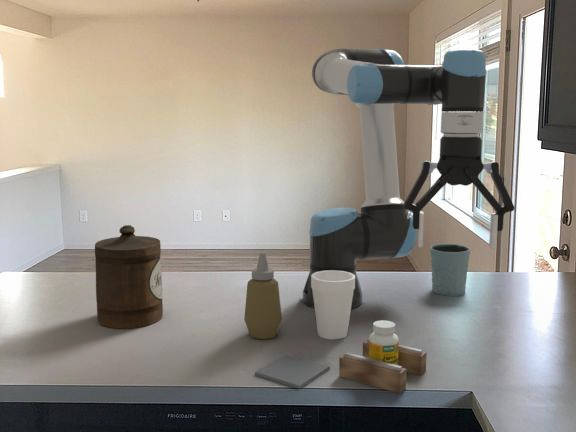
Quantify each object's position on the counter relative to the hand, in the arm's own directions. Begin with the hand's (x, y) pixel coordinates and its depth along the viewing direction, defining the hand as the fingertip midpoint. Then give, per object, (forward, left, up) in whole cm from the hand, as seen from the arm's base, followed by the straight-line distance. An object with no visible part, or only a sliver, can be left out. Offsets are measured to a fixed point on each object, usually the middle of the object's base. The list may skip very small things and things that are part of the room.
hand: (456, 246), depth 118 cm
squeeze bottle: (-37, -13, -22) cm, 45 cm away
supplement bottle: (-7, -16, -22) cm, 28 cm away
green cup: (-16, +41, -22) cm, 49 cm away
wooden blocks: (-7, -16, -22) cm, 28 cm away
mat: (-21, -25, -22) cm, 39 cm away
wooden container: (-69, -22, -22) cm, 76 cm away
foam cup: (-25, -4, -22) cm, 34 cm away
